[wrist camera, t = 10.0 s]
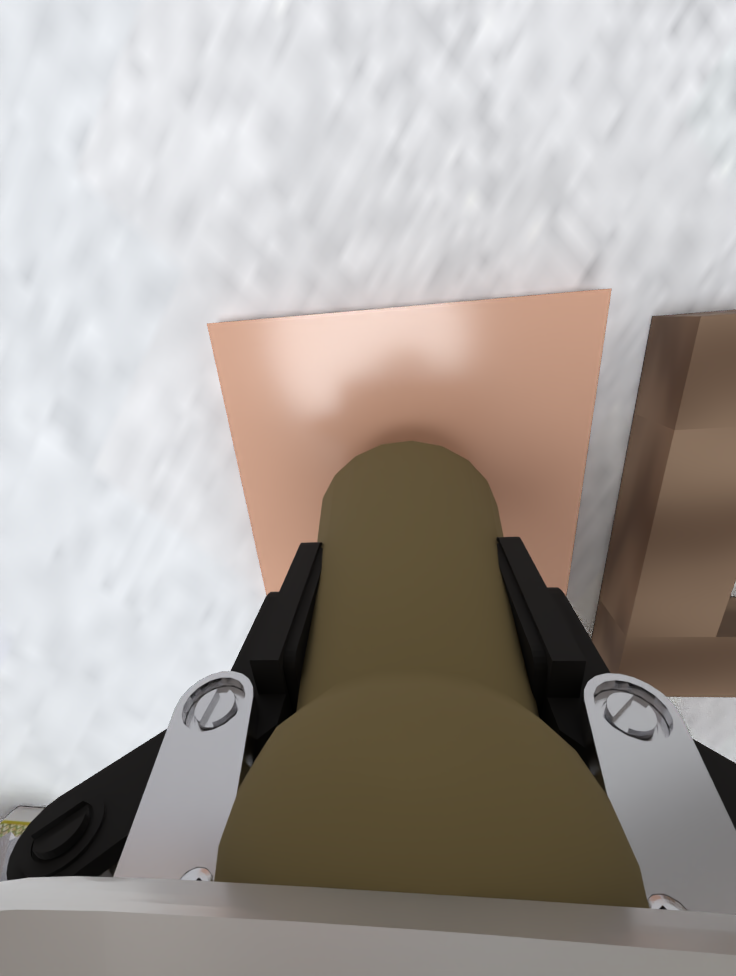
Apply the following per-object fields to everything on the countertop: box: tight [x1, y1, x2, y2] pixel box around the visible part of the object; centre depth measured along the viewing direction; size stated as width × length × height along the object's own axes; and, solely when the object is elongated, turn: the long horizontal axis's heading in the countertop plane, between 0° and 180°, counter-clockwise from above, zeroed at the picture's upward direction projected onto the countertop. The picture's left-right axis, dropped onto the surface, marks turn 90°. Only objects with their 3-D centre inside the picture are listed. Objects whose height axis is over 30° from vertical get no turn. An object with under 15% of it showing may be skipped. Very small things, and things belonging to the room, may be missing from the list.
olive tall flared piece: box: [214, 441, 649, 908], centre depth 8 cm, size 6×6×11 cm
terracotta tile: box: [207, 289, 611, 596], centre depth 17 cm, size 14×14×1 cm
